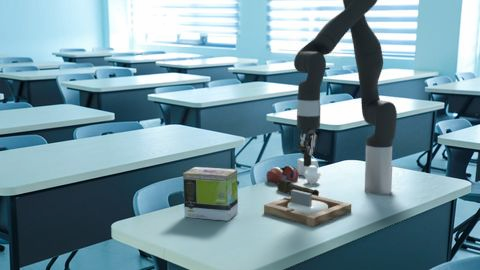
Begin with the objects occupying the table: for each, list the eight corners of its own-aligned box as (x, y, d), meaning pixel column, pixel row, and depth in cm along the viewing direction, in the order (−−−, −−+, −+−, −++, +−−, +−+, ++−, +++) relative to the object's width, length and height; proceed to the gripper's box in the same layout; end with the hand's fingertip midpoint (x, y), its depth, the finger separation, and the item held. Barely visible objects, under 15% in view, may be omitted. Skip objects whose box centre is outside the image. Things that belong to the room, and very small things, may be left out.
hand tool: (319, 200, 214) (319, 187, 213) (311, 202, 211) (311, 189, 210) (283, 189, 228) (283, 176, 228) (275, 190, 226) (275, 178, 225)
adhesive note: (304, 176, 246) (304, 161, 245) (297, 173, 251) (297, 158, 250) (317, 174, 248) (317, 160, 247) (310, 171, 254) (310, 157, 252)
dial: (336, 209, 199) (336, 193, 198) (311, 219, 190) (311, 201, 189) (304, 201, 208) (304, 186, 207) (279, 210, 199) (279, 193, 198)
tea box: (238, 212, 199) (238, 168, 197) (227, 222, 190) (227, 175, 187) (195, 208, 204) (195, 165, 202) (183, 217, 195) (182, 172, 192)
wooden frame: (302, 200, 213) (302, 191, 212) (351, 212, 199) (351, 203, 199) (263, 213, 199) (263, 203, 198) (313, 227, 185) (313, 217, 184)
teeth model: (300, 165, 238) (278, 170, 231) (301, 180, 239) (278, 186, 232) (286, 162, 245) (263, 167, 237) (286, 177, 246) (263, 183, 238)
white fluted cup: (302, 183, 234) (302, 166, 233) (306, 180, 240) (307, 162, 239) (318, 185, 232) (318, 167, 231) (322, 181, 237) (322, 163, 236)
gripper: (313, 117, 191) (312, 171, 194) (325, 111, 203) (324, 162, 206) (290, 115, 194) (289, 169, 197) (304, 110, 206) (302, 160, 209)
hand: (307, 165), depth 202 cm, fingers closed
